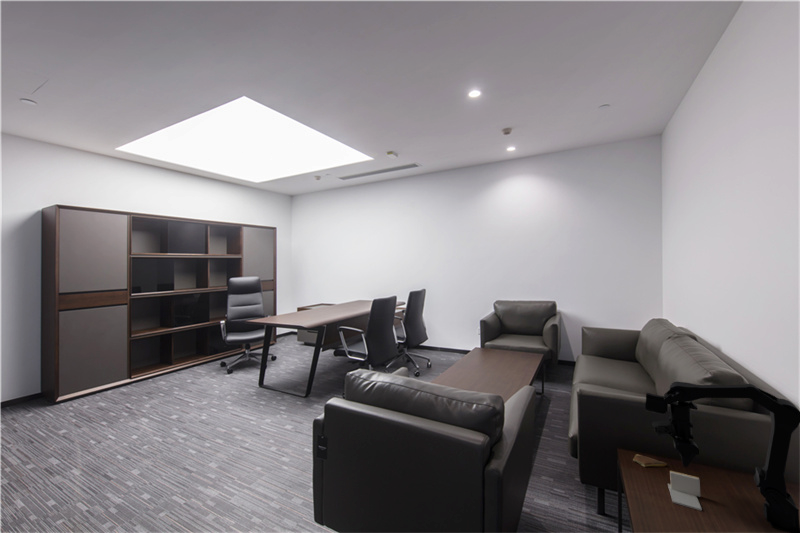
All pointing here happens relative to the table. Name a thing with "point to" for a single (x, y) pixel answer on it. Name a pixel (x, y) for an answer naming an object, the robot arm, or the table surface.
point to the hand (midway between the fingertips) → (682, 460)
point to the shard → (647, 461)
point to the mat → (684, 499)
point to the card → (685, 483)
